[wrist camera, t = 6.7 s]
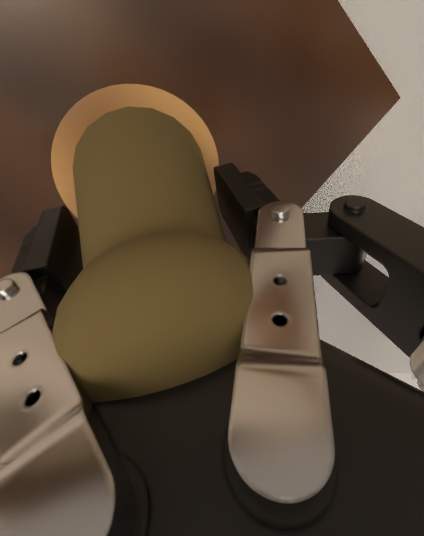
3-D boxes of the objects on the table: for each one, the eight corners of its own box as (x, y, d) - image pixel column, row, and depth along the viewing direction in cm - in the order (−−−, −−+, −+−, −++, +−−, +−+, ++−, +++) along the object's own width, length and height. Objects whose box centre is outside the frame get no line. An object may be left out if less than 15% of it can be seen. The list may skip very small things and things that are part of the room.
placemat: (-85, -644, 4) (-91, -666, 4) (397, 96, 14) (400, 97, 14) (-144, 264, 13) (-147, 267, 13) (185, 334, 23) (186, 337, 23)
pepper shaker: (54, 205, 13) (-31, 492, 5) (101, 71, 10) (71, 250, 3) (169, 245, 16) (224, 462, 8) (228, 151, 14) (390, 341, 6)
